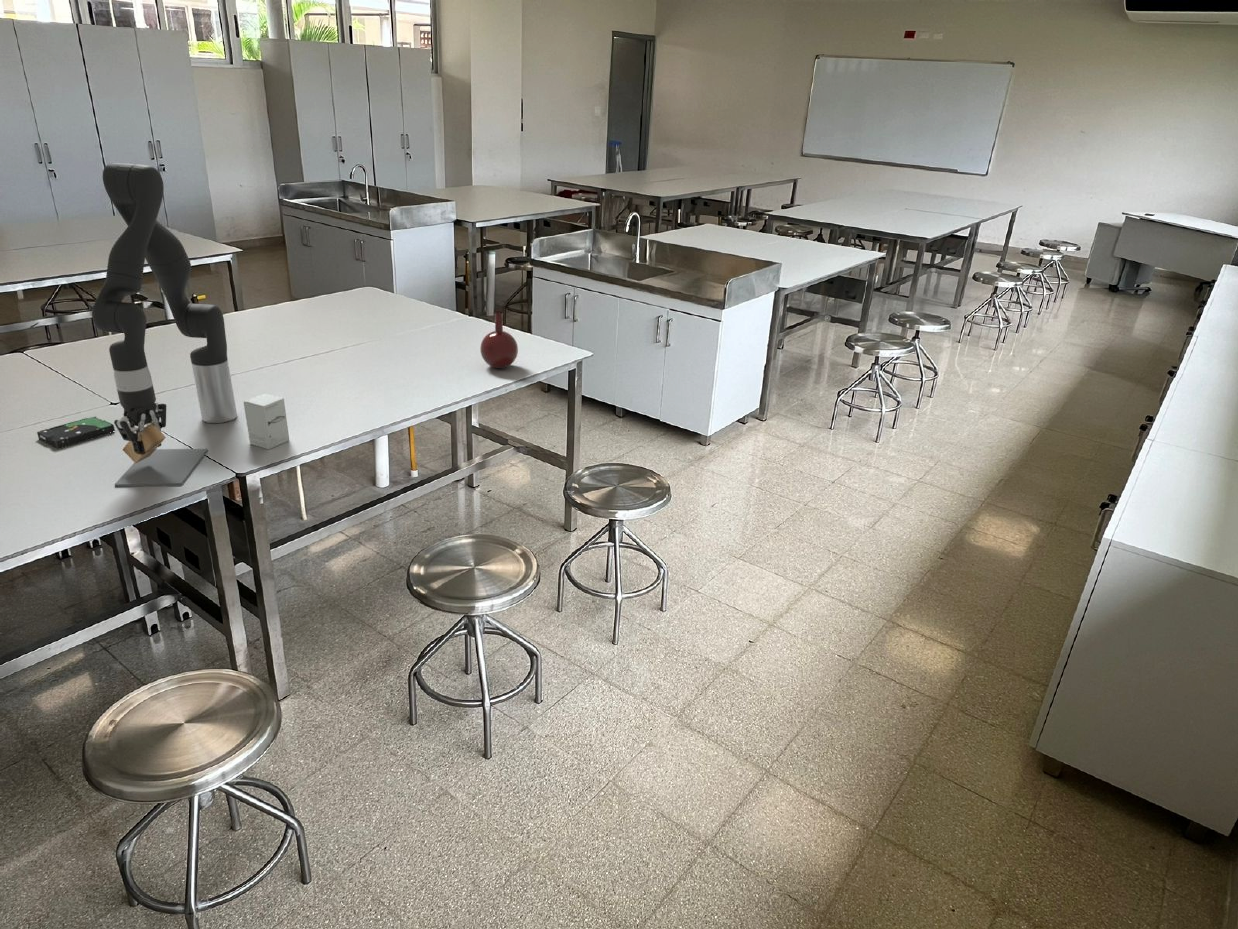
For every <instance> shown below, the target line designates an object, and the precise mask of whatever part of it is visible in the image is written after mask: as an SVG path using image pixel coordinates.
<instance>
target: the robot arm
mask: <svg viewBox="0 0 1238 929" xmlns="http://www.w3.org/2000/svg"><path fill="white" fill-rule="evenodd" d="M102 183H103V186H104V189H105V192H106V193H107V196H108V198H109V199H110V201H111V203H112V204H113V206H114V207H115V209H116V210H117V212H118V213H119V215H120V216H121V218H122V219H123V221H124V222H125V224H126V225H127V228H125V230H124V231H123V232H122V234H121V235H120V236H119V237H118V238H117V240H116V241H115V243H114V244H113V245H112V247H111V249H110V251H109V255H108V259H107V266H106V267H107V268H106V276H105V279H104V282H103V284H102V287H101V289H100V291H99V293H98V296H97V298H96V299H95V302H94V304H93V307H92V312H91V317H92V322H93V323H94V325H95V327H96V328H97V329H98V330H100V331H102V332H105V333H118V334H119V333H120V334H124V338H123V340H119V341H115V342H113V343H112V344H110V346H109V348H108V350H109V357H110V360H111V365H112V370H113V378H114V383H115V387H116V391H117V395H118V401H119V404H120V406H121V407H122V409H123V414H122V415H123V417H121V418H120V419H115V420H114V422H113V423H114V424H113V425H114V427H116V429H117V431H118V432H119V434H120V436H121V438H122V439H123V441H128V442H129V441H132V444H133V447H134V452H135V453H137V454H140V455H143V454H145V450H144V445H143V441H142V435H141V433H142V432H143V431H144V427H145V425H146V426H148V425H150V424H152V425H153V426H154V427H155V426H156V427H157V428H158V429H159V431H160V432H162V428H166V427H167V404H165V403H162V402H156V401H157V398H156V394H155V393H156V392H155V388H154V384H153V379H152V376H151V371H150V369H149V366H148V362H147V357H146V352H145V343H146V342H145V341H146V339H145V338H146V331H147V316H146V313H145V311H144V310H143V308H142V307H141V306H140V305H139V304H137V303H134V302H123V300H124V299H125V298H126V297H127V296H131V295H135V294H138V293H140V292H141V289H142V281H143V277H144V270H145V261H146V262H147V264H148V266H149V269H150V271H151V272H152V273H153V275H154V277H155V279H156V281H157V283H158V285H159V287H160V288H161V291H162V293H163V295H164V298H165V299H166V301H167V305H168V307H169V309H170V312H171V314H172V315H171V316H172V317H173V320H174V322H175V325H176V327H177V329H178V330H179V332H180V333H181V334H182V335H183V336H185V337H186V338H187V337H188V338H195V339H206V345H204V346H200V347H197V348H196V349H193V350H192V351H191V352H190V353H189V358H190V362H191V368H192V374H193V377H194V378H193V379H194V383H195V389H196V394H197V398H198V404H199V409H200V410H199V411H200V415H201V420H202V421H203V422H204V423H207V424H221V423H222V424H223V423H226V422H231V421H233V420H234V419H236V418H238V413H237V405H236V400H235V394H234V389H233V388H234V387H233V383H232V376H231V372H230V366H229V360H228V342H227V335H226V334H227V333H226V326H225V319H224V314H223V311H222V310H221V308H220V307H219V306H218V305H216V304H209V303H208V304H207V303H205V304H204V303H193V302H191V301H190V300H189V298H188V296H187V294H186V288H187V286H188V285H187V284H188V282H189V280H190V277H191V274H192V273H191V272H192V263H191V260H190V258H189V255H188V254H187V251H186V249H185V247H184V245H183V244H182V242H181V241H180V240H179V238H178V237H177V236H176V235H175V234H174V233H172V231H171V230H169V229H168V228H167V227H166V226H164V225H163V224H162V223H161V222H160V221H158V220H157V219H158V216H159V213H160V208H161V206H162V203H163V199H164V198H163V197H164V192H165V191H164V188H165V186H164V180H163V178H162V175H161V173H160V172H159V170H158V169H156V168H155V167H154V166H152V165H149V164H148V165H146V164H140V163H139V164H136V163H124V162H112V163H108V164H107V165H105V167H104V168H103V169H102ZM135 433H136V436H135ZM162 442H163V441H162ZM162 442H161V444H160V445H159V446H158V447H157V448H160V447H161V446H162Z"/></svg>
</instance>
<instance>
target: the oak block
mask: <svg viewBox="0 0 1238 929" xmlns="http://www.w3.org/2000/svg"><path fill="white" fill-rule="evenodd" d="M141 435H142V441H143V445H144V450H145V454H143V455H140V454H137V453H135V452H134V447H133V444H132V441H128V442H127V443H126V444H125V446H124V447H123V448H122V451H123V453H125V454H126V455H127V456H128V457H129V458H130V459H131V460H132V461H133V463H134V462H135V463H137V462H139V461H141V460H143V459H145V458H147V457H149V456H151V454H152V453H153V452H154V451H155V450H156V449H158V448H159V447H158V446H159V445H160V444H161V445H162V443H161V442H164V440H166V438H167V437H166V436H165V435H164V433H162V431H159V429H158V428H157V427H156V426H155V427H154V426H153V425H152V424H150V425H148V426H147V425H146V426H144V431H143V432H142V433H141ZM135 436H136V432H135Z"/></svg>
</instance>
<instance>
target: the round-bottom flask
mask: <svg viewBox="0 0 1238 929" xmlns="http://www.w3.org/2000/svg"><path fill="white" fill-rule="evenodd" d="M503 315H504V312H503V311H500V310H496V311H494V330H493V331H490V332H489V333H487V334H486V335H485V336H484V337H483V338H482V340H481V343H480V348H479V349H480V356H481V358H482V360H483V361H484V362H485V364H486V365H488V366H490V367H492V368H494V369H504V368H507V367H509V366H511V365H512V364H513V363H514V362H515V361H516V359H517V357H518V353H519V348H518V343H517V340H516V339H515V338H514V337H513V335H512V334H510V333H509V332H506V331H504V329H503V328H504V327H503V324H504V323H503V317H504V316H503Z"/></svg>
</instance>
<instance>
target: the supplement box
mask: <svg viewBox="0 0 1238 929" xmlns="http://www.w3.org/2000/svg"><path fill="white" fill-rule="evenodd" d="M243 406H244V408H243V409H244V413H245V414H244V415H245V419H246V420H245V421H246V427H247V434H248V440H249V444H250V445H254V446H257V447H260V448H263V449H266V450H270V449H273V448H274V447H276V446H278V445H281V444H284V443H286V442H288V441H289V440H290V433H289V428H288V427H289V426H288V420H287V413H286V405H285V398H284V397H281V396H276V395H272V394H269V393H262V394H260V395H257V396H254V397H252V398H248V399H246V400H243Z"/></svg>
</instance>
